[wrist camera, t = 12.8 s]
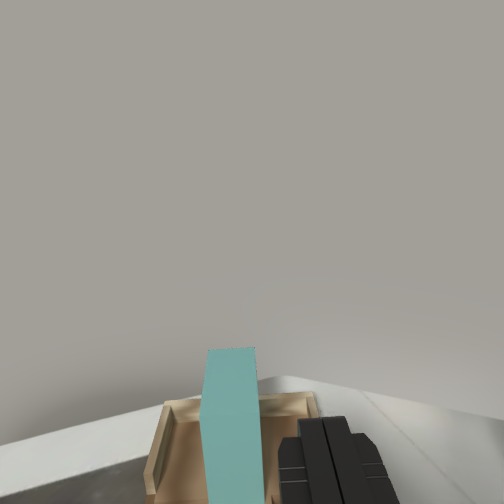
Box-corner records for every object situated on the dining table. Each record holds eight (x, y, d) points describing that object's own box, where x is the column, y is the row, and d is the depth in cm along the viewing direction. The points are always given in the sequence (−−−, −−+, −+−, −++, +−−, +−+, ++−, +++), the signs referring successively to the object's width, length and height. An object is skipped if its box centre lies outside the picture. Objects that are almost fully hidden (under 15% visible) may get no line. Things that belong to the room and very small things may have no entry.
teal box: (258, 422, 51) (254, 346, 48) (264, 503, 40) (259, 411, 36) (215, 425, 51) (208, 350, 48) (209, 507, 40) (198, 416, 36)
